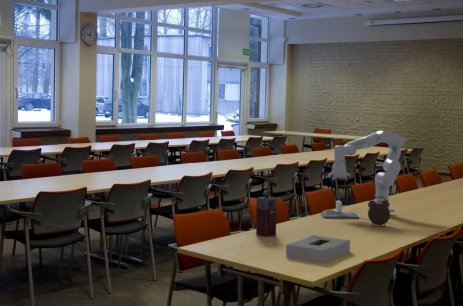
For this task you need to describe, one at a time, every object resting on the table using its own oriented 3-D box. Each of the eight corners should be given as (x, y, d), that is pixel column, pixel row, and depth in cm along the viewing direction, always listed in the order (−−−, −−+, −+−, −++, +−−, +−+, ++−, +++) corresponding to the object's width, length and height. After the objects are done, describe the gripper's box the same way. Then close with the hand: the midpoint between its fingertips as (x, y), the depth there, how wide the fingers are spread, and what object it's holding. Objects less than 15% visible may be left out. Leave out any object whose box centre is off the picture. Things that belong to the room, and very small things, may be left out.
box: (312, 246, 356) (285, 257, 330) (313, 233, 356) (285, 243, 330) (350, 253, 343) (324, 264, 317) (350, 239, 343) (325, 249, 316)
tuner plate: (354, 214, 457) (355, 211, 457) (358, 218, 441) (358, 215, 441) (321, 214, 458) (321, 210, 458) (323, 218, 442) (323, 214, 442)
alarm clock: (388, 225, 419) (389, 196, 418) (390, 227, 412) (391, 197, 410) (366, 224, 421) (367, 195, 419) (368, 226, 413) (368, 197, 412)
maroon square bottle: (269, 237, 377) (269, 192, 375) (255, 234, 385) (256, 190, 383) (278, 235, 383) (279, 190, 381) (265, 232, 391) (266, 188, 389)
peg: (340, 212, 458) (340, 200, 457) (343, 213, 452) (343, 201, 451) (323, 212, 455) (324, 201, 454) (326, 214, 449) (327, 202, 448)
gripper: (348, 161, 457) (347, 184, 459) (326, 162, 453) (326, 185, 455) (352, 162, 450) (352, 185, 451) (330, 163, 446) (329, 186, 447)
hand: (339, 185), depth 453 cm, fingers open, 9 cm apart
